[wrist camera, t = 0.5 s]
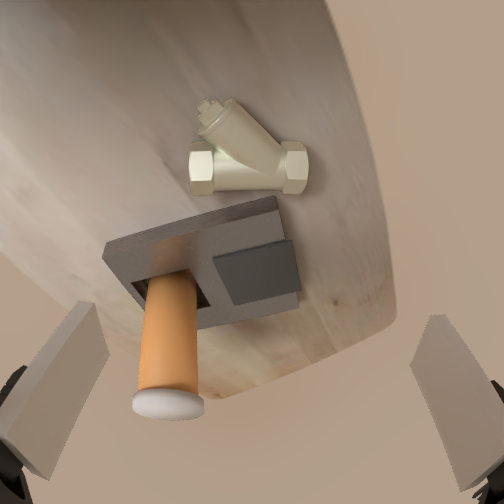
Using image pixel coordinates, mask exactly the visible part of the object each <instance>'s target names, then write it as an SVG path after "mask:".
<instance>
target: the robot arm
mask: <svg viewBox="0 0 504 504" xmlns="http://www.w3.org/2000/svg"><path fill="white" fill-rule="evenodd" d="M109 356H110V354H109V351H108V348H107V345H106V342H105V338H104V335H103V332H102V328H101V325H100V321H99V318H98V314H97V311H96V307H95V303H91V302H83V301H78V303H77V304H76V305H75V306H74V307H73V309H72V310H71V311H70V312H69V314H68V315H67V316H66V317H65V319H64V320H63V321H62V322H61V324H60V325H59V326H58V327H57V329H56V330H55V331H54V333H53V334H52V335H51V337H50V338H49V339H48V340H47V342H46V343H45V344H44V346H43V347H42V348H41V349H40V351H39V352H38V354H37V355H36V356H35V358H34V359H33V360H32V362H31V363H30V365H29V366H28V367H27V366H24V365H23V366H22V367H20V368H19V369H18V370H16V371H15V372H14V373H13V374H12V375H11V377H10V378H9V379H8V381H7V382H6V385H5V386H4V387H3V388H2V390H1V391H0V392H1V393H0V504H33V502H32V499H31V496H30V492H29V489H28V485H27V482H26V478H25V475H24V473H23V471H22V470H21V469H22V467H23V465H24V466H25V467H27V469H29V470H30V472H32V473H33V474H35V475H37V476H39V477H42V478H44V479H46V480H48V481H49V480H50V477H51V475H52V473H53V471H54V468H55V466H56V464H57V461H58V459H59V457H60V454H61V452H62V450H63V448H64V446H65V443H66V441H67V439H68V437H69V435H70V433H71V431H72V428H73V426H74V424H75V422H76V420H77V418H78V416H79V414H80V412H81V410H82V408H83V406H84V404H85V402H86V400H87V398H88V396H89V394H90V392H91V390H92V388H93V386H94V384H95V382H96V380H97V378H98V376H99V374H100V373H101V371H102V369H103V367H104V365H105V363H106V361H107V359H108V357H109ZM410 367H411V370H412V372H413V374H414V376H415V378H416V380H417V382H418V385H419V387H420V389H421V391H422V394H423V396H424V398H425V401H426V403H427V405H428V407H429V410H430V412H431V415H432V417H433V420H434V422H435V424H436V427H437V429H438V432H439V434H440V437H441V439H442V442H443V444H444V447H445V449H446V453H447V455H448V458H449V461H450V463H451V466H452V469H453V472H454V475H455V477H456V480H457V483H458V487H459V490H460V492H462V491H465V490H467V489H470V488H472V487H475V486H477V485H478V484H479V483H480V482H482V481H483V480H484V479H485V478H486V477H487V479H488V483H487V484H485V485H484V486H483V487H482V488H481V489H479V490H478V491H477V492H476V493H475V494H474V495H473V497H472V498H476V497H477V496H478V495H480V494H481V493H482V495H481V496H480V497H479V498H478V500H480V501H479V504H504V389H503V388H502V387H501V386H500V385H499V384H498V383H497V382H495V381H494V380H493V381H490V380H489V378H488V377H487V375H486V374H485V372H484V371H483V369H482V368H481V366H480V364H479V363H478V361H477V360H476V359H475V357H474V355H473V354H472V352H471V351H470V349H469V348H468V346H467V345H466V343H465V342H464V341H463V339H462V338H461V336H460V335H459V333H458V332H457V331H456V329H455V328H454V326H453V325H452V324H451V322H450V321H449V320H448V318H447V317H446V315H430V317H429V320H428V322H427V325H426V327H425V330H424V333H423V335H422V338H421V340H420V343H419V345H418V347H417V350H416V352H415V354H414V357H413V359H412V361H411V363H410Z"/></svg>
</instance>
